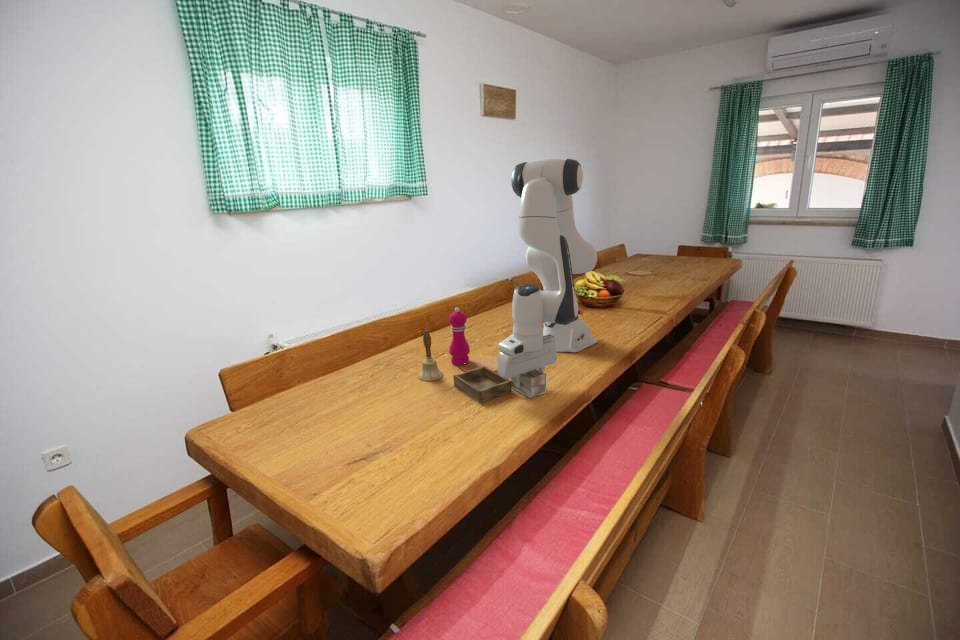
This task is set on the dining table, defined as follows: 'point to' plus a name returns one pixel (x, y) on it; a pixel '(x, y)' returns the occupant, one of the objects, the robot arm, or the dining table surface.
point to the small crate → (531, 383)
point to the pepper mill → (458, 338)
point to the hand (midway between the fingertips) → (528, 383)
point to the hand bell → (429, 362)
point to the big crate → (482, 384)
